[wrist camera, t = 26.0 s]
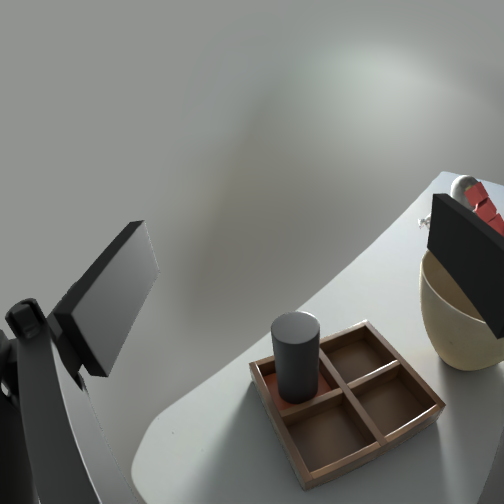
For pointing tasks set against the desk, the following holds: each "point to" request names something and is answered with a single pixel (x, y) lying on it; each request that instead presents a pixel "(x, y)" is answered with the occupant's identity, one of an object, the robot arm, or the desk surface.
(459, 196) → the decorative ball
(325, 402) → the grid
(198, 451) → the desk surface
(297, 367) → the dark grey cylinder
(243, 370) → the desk surface
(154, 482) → the desk surface
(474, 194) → the toy blocks
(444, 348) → the beige bowl
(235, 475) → the desk surface
